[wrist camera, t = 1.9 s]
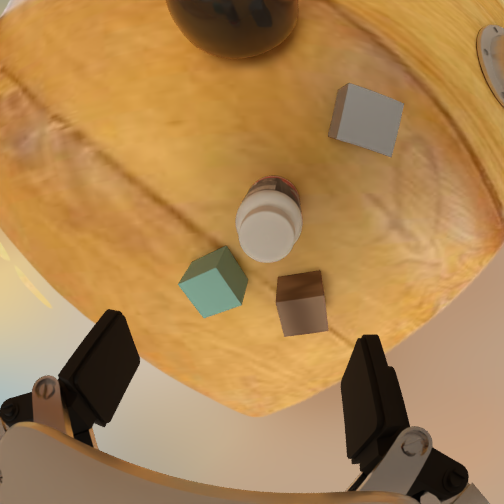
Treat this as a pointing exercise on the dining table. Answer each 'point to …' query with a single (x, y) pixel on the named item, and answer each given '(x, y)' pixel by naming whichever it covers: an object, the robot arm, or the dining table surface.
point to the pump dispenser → (234, 24)
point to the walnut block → (301, 304)
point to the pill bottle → (269, 219)
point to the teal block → (214, 283)
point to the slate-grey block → (366, 119)
